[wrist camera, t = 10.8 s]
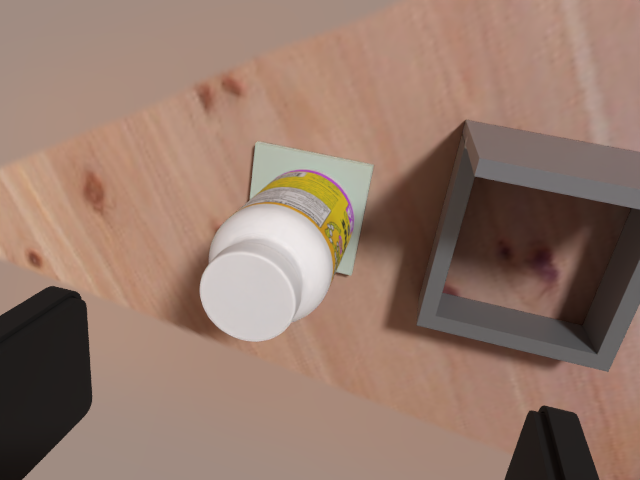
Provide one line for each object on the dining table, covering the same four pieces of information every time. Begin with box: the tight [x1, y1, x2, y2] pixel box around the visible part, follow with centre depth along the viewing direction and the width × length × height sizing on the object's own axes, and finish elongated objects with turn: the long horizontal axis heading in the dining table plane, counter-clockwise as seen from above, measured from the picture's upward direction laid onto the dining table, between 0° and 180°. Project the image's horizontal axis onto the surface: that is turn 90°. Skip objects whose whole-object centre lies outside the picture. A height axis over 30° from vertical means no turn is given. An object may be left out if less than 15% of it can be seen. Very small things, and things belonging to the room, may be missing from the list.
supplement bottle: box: [200, 169, 355, 342], centre depth 29 cm, size 7×7×13 cm
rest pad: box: [250, 141, 374, 275], centre depth 36 cm, size 8×8×1 cm
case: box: [417, 120, 640, 372], centre depth 28 cm, size 13×13×11 cm
